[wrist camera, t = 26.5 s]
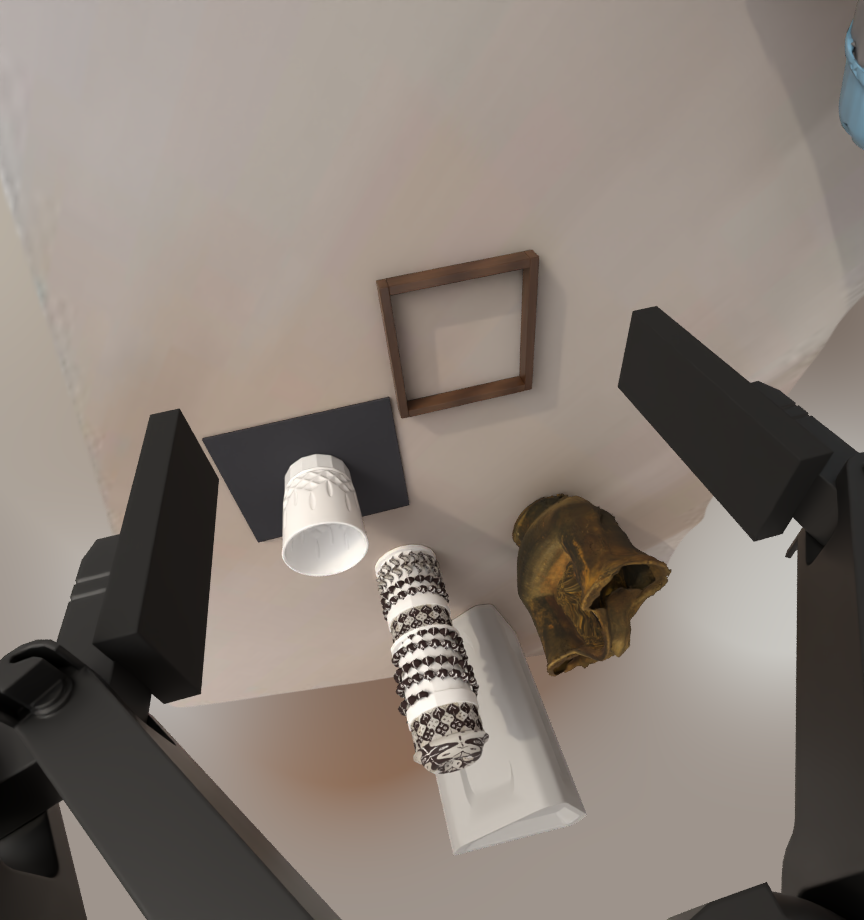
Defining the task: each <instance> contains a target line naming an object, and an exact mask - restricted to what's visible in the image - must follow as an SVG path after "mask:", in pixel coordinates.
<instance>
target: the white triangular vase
mask: <svg viewBox="0 0 864 920" xmlns="http://www.w3.org/2000/svg"><path fill="white" fill-rule="evenodd" d="M452 624H453V627H455V628H456V629H457V631H458V632H459V634H460V637H461V638H462V639H463V643H462V644H463V645H464V649H465V650H466V655H467V656H468V661H467V662H468V665H471V666H472V667H473V671H472V672H474V678H475V679H476V681H477V684H478V686H479V689H478V691H477V693H478V695H477V697H476V698H477V701H478V704H479V712H478V713H479V715H480V717H481V720H482V726H483V729H484V731H485V732H486V733H487V734H489V739H488V741H487V742H486V743H485V744H484V746H483V751H482V755H481V757H480V758H479V759H478V760H477V761H476V762H475V763H473V764H472V765H470V766H468V767H466V768H464V769H461V770H458V771H455V772H451V773H445V774H436V779H437V783H438V788H439V792H440V797H441V801H442V805H443V810H444V815H445V820H446V824H447V829H448V833H449V838H450V842H451V847H452V851H453V855H459V854H462V853H466V852H470V851H474V850H477V849H482V848H485V847H489V846H493V845H497V844H501V843H505V842H509V841H512V840H516V839H520V838H524V837H528V836H532V835H536V834H540V833H543V832H547V831H551V830H555V829H558V828H563V827H567V826H570V825H573V824H575V823H577V822H578V821H580V820H581V819H582V818H583V817H585V816H586V815H587V814H586V812H585V809H584V806H583V804H582V802H581V799H580V796H579V794H578V791H577V789H576V786H575V783H574V781H573V778H572V776H571V773H570V771H569V768H568V766H567V763H566V760H565V758H564V755H563V753H562V750H561V748H560V745H559V743H558V740H557V737H556V735H555V732H554V730H553V727H552V725H551V722H550V720H549V717H548V715H547V712H546V709H545V707H544V704H543V702H542V699H541V697H540V694H539V692H538V689H537V686H536V684H535V681H534V679H533V676H532V674H531V671H530V669H529V666H528V663H527V661H526V658H525V656H524V653H523V651H522V648H521V645H520V643H519V640H518V638H517V635H516V633H515V631H514V630H513V629H512V628H511V626H510V625H509V624H508V623H507V622H506V620H505V619H504V618H503V617H502V616H501V614H500V613H499V612H498V611H497V609H496V608H495V607H494V606H493V605H491V604H486V605H477V606H475V607H473V608H471V609H469V610H468V611H466V612H465V613H463V614H462V615H460V616H458V617H457V618H455V619H454V620H452ZM465 671H466V672H467V670H466V668H465ZM467 673H468V672H467ZM470 687H471V690H473V688H472V686H470Z"/></svg>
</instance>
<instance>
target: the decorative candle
mask: <svg viewBox="0 0 864 920" xmlns="http://www.w3.org/2000/svg"><path fill="white" fill-rule="evenodd" d="M375 571H376V576H377V577H378V578H377V579H376V581H377V582H380V583H379V585H378V587H379V589H378V591H379V592H381V594H380V597H381V598H383V599H382V600H381V604H382V605H383V606H382V607H383V609H384V610H383V615H384V618H385V620H386V621H388V626H389V631H390V633H391V634H392V639H393V646H392V648H391V652H392V663H393V664H394V665H395V666H396V667H399V669H398V670H396V673H395V674H394V679H395V681H396V682H397V683H399V685H398V686H397V690H396V693H397V694H398V695H399V696H400V697H402V698H405V700H404V701H403V702H401V704H400V706H399V708H398V710H399V712H400V713H401V714H402V715H404V716H407V723H408V725H409V730H410V731H411V732H412V737H413V742H414V747H415V752H416V753H415V755H414V756H413V757H414V761H415V762H417V763H419V764H422V765H423V766H424V767H425V768H426V769H427V770H428V771H430V772H432V773H434V774H445V773H451V772H455V771H458V770H461V769H464V768H466V767H468V766H470V765H472V764H473V763H475V762H476V761H477V760H478V759H479V758H480V757H481V755H482V751H483V746H484V744H485V743H486V742H487V741H488V739H489V734H487V733H486V732H485V731H484V729H483V726H482V720H481V717H480V715H479V713H478V712H479V704H478V701H477V698H476V697H477V695H478V693H477V691H478V689H479V686H478V684H477V681H476V679H475V678H474V672H472V671H473V667H472V666H471V665H468V662H467V661H468V656H467V655H466V650H465V649H464V645H463V644H462V643H463V639H462V638H461V637H460V634H459V632H458V631H457V629H456V628H455V627H453V624H452V620H451V618H450V609H449V605H448V603H449V600H448V597H449V596H448V594H447V593H446V590H445V584H444V583H443V582H442V573H441V571H440V570H439V563H438V562H437V561H436V555H435V554H434V552H433V551H432V550H431V549H430V548H428V547H425V546H423V545H411V544H410V545H405V546H400V547H397V548H395V549H393V550H391V551H389V552H387V553H385V554H384V555H383V556H382V557H381V558H380V559H379V560H378V562H377V564H376V566H375ZM465 668H466V670H467V672H468V673H467V672H466V671H465ZM470 686H472V688H473V690H471V687H470ZM407 708H408V709H407Z"/></svg>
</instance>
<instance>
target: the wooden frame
mask: <svg viewBox="0 0 864 920" xmlns="http://www.w3.org/2000/svg"><path fill="white" fill-rule="evenodd" d="M520 269H523V285H522V315H521V345H520V375H519V376H517V377H513V378H508V379H504V380H499V381H495V382H490V383H486V384H482V385H477V386H473V387H468V388H464V389H459V390H455V391H450V392H446V393H441V394H437V395H433V396H428V397H424V398H419V399H415V400H410V401H407V400H406V393H405V387H404V381H403V375H402V368H401V362H400V356H399V349H398V343H397V337H396V330H395V324H394V318H393V312H392V305H391V299H390V295H395V294H400V293H405V292H410V291H415V290H420V289H425V288H430V287H435V286H440V285H445V284H450V283H455V282H460V281H465V280H470V279H475V278H480V277H485V276H490V275H495V274H500V273H505V272H510V271H515V270H520ZM538 269H539V256H538V255H537V254H536V253H535V252H534V251H533V250H528V251H524V252H518V253H513V254H508V255H503V256H498V257H493V258H488V259H483V260H478V261H473V262H467V263H462V264H457V265H452V266H447V267H442V268H437V269H432V270H427V271H422V272H417V273H412V274H407V275H401V276H396V277H391V278H386V280H385V279H382V280H377V281H376V284H377V290H378V296H379V301H380V307H381V313H382V319H383V324H384V330H385V336H386V341H387V347H388V353H389V358H390V364H391V370H392V375H393V381H394V387H395V393H396V398H397V404H398V409H399V413H400V416H401V418H407V417H412V416H416V415H421V414H425V413H429V412H434V411H438V410H443V409H447V408H451V407H456V406H460V405H464V404H469V403H473V402H478V401H482V400H486V399H491V398H495V397H499V396H504V395H508V394H513V393H517V392H521V391H524V390H525V391H526V390H530V389H532V378H533V360H534V342H535V324H536V305H537V287H538Z"/></svg>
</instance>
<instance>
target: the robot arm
mask: <svg viewBox="0 0 864 920" xmlns="http://www.w3.org/2000/svg"><path fill="white" fill-rule="evenodd" d="M845 56H846V58H847V59H846V65H845V71H844V76H843V82H842V88H841V93H840V99H839V117H840V121H841V124H842V126H843V128H844V129H845V130H846V132H847V133H848V134H849V135H850V136H851V137H852V140H853V142H854V143H855V144H856V145H857V146H858V147H860V148H861V149H863V150H864V0H858V2H857V7H856V11H855V15H854V18H853V20H852V22H851V25H850V27H849V29H848V31H847V35H846V38H845ZM618 388H619V389H620V390H621V391H622V392H623V393H624V395H625V396H626V397H627V398H628V399H629V400H630V401H631V403H632V404H633V405H634V406H635V407H636V408H637V409H638V410H639V412H640V413H641V414H642V415H643V416H644V417H645V418H646V420H647V421H648V422H649V423H650V424H651V425H652V426H653V427H654V429H655V430H656V431H657V432H658V433H659V434H660V435H661V437H662V438H663V439H664V440H665V441H666V442H667V443H668V445H669V446H670V447H671V448H672V449H673V450H674V451H675V452H676V454H677V455H678V456H679V457H680V458H681V459H682V460H683V462H684V463H685V464H686V465H687V466H688V467H689V468H690V470H691V471H692V472H693V473H694V474H695V475H696V476H697V477H698V479H699V480H700V481H701V482H702V483H703V484H704V485H705V487H706V488H707V489H708V490H709V491H710V492H711V493H712V495H713V496H714V497H715V498H716V499H717V500H718V501H719V502H720V503H721V504H722V506H723V507H724V508H725V509H726V510H727V511H728V513H729V514H730V515H731V516H732V517H733V518H734V519H735V521H736V522H737V523H738V524H739V525H740V526H741V527H742V529H743V530H744V531H745V532H746V533H747V534H748V535H749V537H750V538H751V539H752V540H753V541H758V540H762V539H765V538H769V537H773V536H776V535H780V534H783V532H784V530H785V529H786V527H787V525H788V524H789V522H790V521H791V519H792V518H794V519H795V520H796V521H797V522H798V523H799V524H800V525H801V526H802V527H803V528H802V529H801V531H800V532H799V534H798V535H797V537H796V538H795V540H794V541H793V543H792V544H791V546H790V547H789V549H788V550H787V553H786V556H785V557H788V558H791V557H792V555H793V554H794V552H795V551H796V550H798V556H797V557H798V559H797V661H796V667H797V668H796V768H795V769H796V770H795V771H796V772H795V824H794V830H793V834H792V836H791V839H790V841H789V843H788V846H787V848H786V851H785V855H784V860H783V868H782V889H781V890H782V891H781V893H777V892H772V891H771V889H770V887H769V885H768V884H767V882H766V883H763V884H760V885H757V886H755V887H752V888H749V889H746V890H743V891H740V892H738V893H735V894H732V895H729V896H727V897H724V898H721V899H718V900H715V901H712V902H710V903H707V904H704V905H702V906H699V907H696V908H694V909H691V910H689V911H686V912H683V913H681V914H678V915H676V916H673V917H670V918H669V919H667V920H864V452H863V453H859V452H857V451H855V449H853V448H852V447H851V446H849V445H848V444H847V443H845V442H844V441H843V440H842V439H840V438H839V437H838V436H837V435H835V434H834V433H833V432H832V431H830V430H829V429H828V428H827V427H825V426H824V425H822V424H821V423H820V422H819V421H818V420H816V419H815V418H814V417H813V416H809V415H808V412H806V411H805V410H803V408H801V407H800V406H796V405H795V402H794V401H792V400H791V399H790V398H789V397H787V396H786V395H785V394H783V393H782V392H781V391H780V390H778V389H775V388H773V387H771V386H769V385H766V384H764V383H762V382H760V381H756V382H752V383H750V382H749V381H747V380H746V379H745V378H744V377H742V376H741V375H740V374H739V373H738V372H736V371H735V370H734V369H733V368H732V367H730V366H729V365H728V364H727V363H725V362H724V361H723V360H722V359H721V358H719V357H718V356H717V355H716V354H714V353H713V352H712V351H711V350H710V349H708V348H707V347H706V346H705V345H703V344H702V343H701V342H700V341H699V340H697V339H696V338H695V337H694V336H692V335H691V334H690V333H689V332H688V331H686V330H685V329H684V328H683V327H682V326H680V325H679V324H678V323H677V322H675V321H674V320H673V319H672V318H671V317H669V316H668V315H667V314H666V313H664V312H663V311H662V310H661V309H660V308H658V307H657V306H655V307H650V308H645V309H641V310H636V311H633V313H632V318H631V323H630V328H629V333H628V338H627V343H626V348H625V353H624V358H623V363H622V368H621V373H620V378H619V383H618ZM218 484H219V478H218V477H217V475H216V473H215V471H214V469H213V468H212V466H211V464H210V462H209V460H208V459H207V457H206V455H205V453H204V451H203V450H202V448H201V446H200V444H199V442H198V441H197V439H196V437H195V435H194V433H193V432H192V430H191V428H190V426H189V424H188V423H187V421H186V419H185V417H184V416H183V414H182V412H181V410H180V409H175V410H171V411H166V412H161V413H157V414H152V415H150V418H149V422H148V426H147V430H146V434H145V438H144V441H143V445H142V449H141V453H140V457H139V461H138V465H137V469H136V473H135V477H134V481H133V485H132V489H131V492H130V496H129V500H128V504H127V508H126V512H125V516H124V520H123V524H122V528H121V532H120V534H118V535H114V536H110V537H106V538H102V539H97V540H96V541H95V543H94V544H93V546H92V547H91V548H90V550H89V551H88V552H87V554H86V555H85V556H84V558H83V559H82V561H81V564H80V567H79V571H78V574H77V577H76V580H75V581H76V585H74V587H73V590H72V594H71V597H70V598H71V601H70V602H69V603H68V606H67V610H66V613H65V616H64V619H63V622H62V626H61V629H60V632H59V635H58V639H57V642H54V641H52V640H35V641H32V642H29V643H26V644H23V645H21V646H19V647H18V648H16V649H15V650H13V651H11V652H10V653H8V654H7V655H5V656H4V657H3V658H2V659H1V660H0V920H87V917H86V913H85V909H84V905H83V901H82V897H81V893H80V888H79V884H78V880H77V876H76V873H75V868H74V864H73V860H72V856H71V852H70V848H69V844H68V839H67V835H66V832H65V827H64V823H63V819H62V815H61V811H60V807H59V802H60V801H62V800H64V802H65V803H66V804H67V806H68V807H69V809H70V810H71V811H72V813H73V814H74V816H75V817H76V819H77V820H78V822H79V823H80V824H81V826H82V827H83V829H84V830H85V831H86V833H87V835H88V836H89V837H90V839H91V840H92V842H93V843H94V845H95V846H96V848H97V849H98V850H99V852H100V853H101V855H102V856H103V857H104V859H105V860H106V862H107V863H108V865H109V866H110V867H111V869H112V870H113V872H114V873H115V875H116V876H117V878H118V879H119V880H120V882H121V883H122V885H123V886H124V888H125V889H126V891H127V892H128V893H129V895H130V896H131V898H132V899H133V901H134V902H135V903H136V905H137V906H138V908H139V909H140V911H141V912H142V914H143V915H144V916H145V918H146V919H147V920H341V919H340V917H339V916H338V915H337V914H336V913H335V912H334V911H333V910H332V909H331V908H330V907H329V906H328V904H327V903H326V902H325V901H324V900H323V899H322V898H321V897H320V896H319V895H318V894H317V893H316V892H315V891H314V889H313V888H312V887H311V886H310V885H309V884H308V883H307V882H306V881H305V880H304V879H303V877H302V876H301V875H300V874H299V873H298V872H297V871H296V870H295V869H294V868H293V867H292V866H291V865H290V863H289V862H288V861H287V860H286V859H285V858H284V857H283V856H282V855H281V854H280V853H279V852H278V851H277V850H276V848H275V847H274V846H273V845H272V844H271V843H270V842H269V841H268V840H267V839H266V838H265V836H263V834H262V833H261V832H260V831H259V830H258V829H257V828H256V827H255V826H254V825H253V823H251V821H250V820H249V819H248V818H247V817H246V816H245V815H244V814H243V813H242V812H241V811H240V810H239V808H238V807H237V806H236V805H235V804H234V803H233V802H232V801H231V800H230V799H229V798H228V796H227V795H226V794H225V793H224V792H223V791H222V790H221V789H220V788H219V787H218V786H217V785H216V784H215V782H214V781H213V780H212V779H211V778H210V777H209V776H208V775H207V774H206V773H205V772H204V771H203V769H202V768H201V767H200V766H199V765H198V764H197V763H196V762H195V761H194V760H193V759H192V758H191V757H190V755H188V753H187V752H186V751H185V750H184V749H183V748H182V747H181V746H180V745H179V744H178V743H177V741H176V740H175V739H174V738H173V737H172V736H171V735H170V734H169V733H168V732H167V731H166V730H165V729H164V728H163V726H162V725H161V724H160V723H159V722H158V721H157V720H156V719H155V718H154V717H153V716H152V715H151V714H149V706H150V700H151V694H153V695H154V696H155V697H156V698H158V699H159V700H160V701H161V702H162V703H164V704H166V703H170V702H173V701H177V700H181V699H184V698H188V697H191V696H195V695H199V694H201V686H202V674H203V662H204V651H205V639H206V627H207V615H208V603H209V591H210V579H211V567H212V555H213V543H214V532H215V520H216V508H217V496H218Z"/></svg>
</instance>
